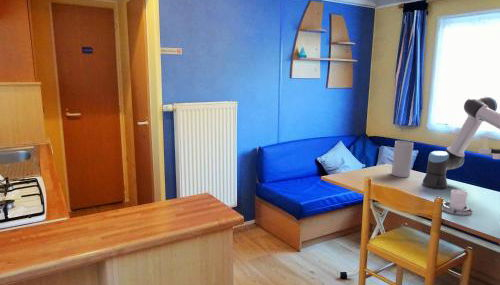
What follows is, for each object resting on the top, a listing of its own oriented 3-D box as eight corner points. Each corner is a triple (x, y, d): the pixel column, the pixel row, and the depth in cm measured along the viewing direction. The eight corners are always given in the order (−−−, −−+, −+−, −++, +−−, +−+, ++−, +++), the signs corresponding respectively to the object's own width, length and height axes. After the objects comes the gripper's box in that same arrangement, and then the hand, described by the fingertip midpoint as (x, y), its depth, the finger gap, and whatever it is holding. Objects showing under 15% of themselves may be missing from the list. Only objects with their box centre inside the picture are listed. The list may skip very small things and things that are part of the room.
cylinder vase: (413, 177, 263) (417, 144, 258) (398, 178, 260) (402, 144, 255) (402, 172, 275) (406, 140, 270) (388, 173, 272) (391, 140, 267)
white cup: (465, 212, 194) (467, 195, 192) (448, 209, 198) (451, 192, 196) (464, 208, 201) (467, 191, 199) (448, 205, 205) (451, 188, 203)
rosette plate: (433, 208, 203) (433, 204, 202) (447, 203, 212) (447, 198, 212) (463, 218, 190) (464, 213, 190) (476, 212, 200) (477, 207, 199)
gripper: (540, 167, 188) (498, 165, 189) (509, 156, 213) (472, 154, 214) (543, 153, 187) (501, 151, 188) (511, 143, 211) (474, 142, 212)
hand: (485, 153), depth 201 cm, fingers open, 13 cm apart
